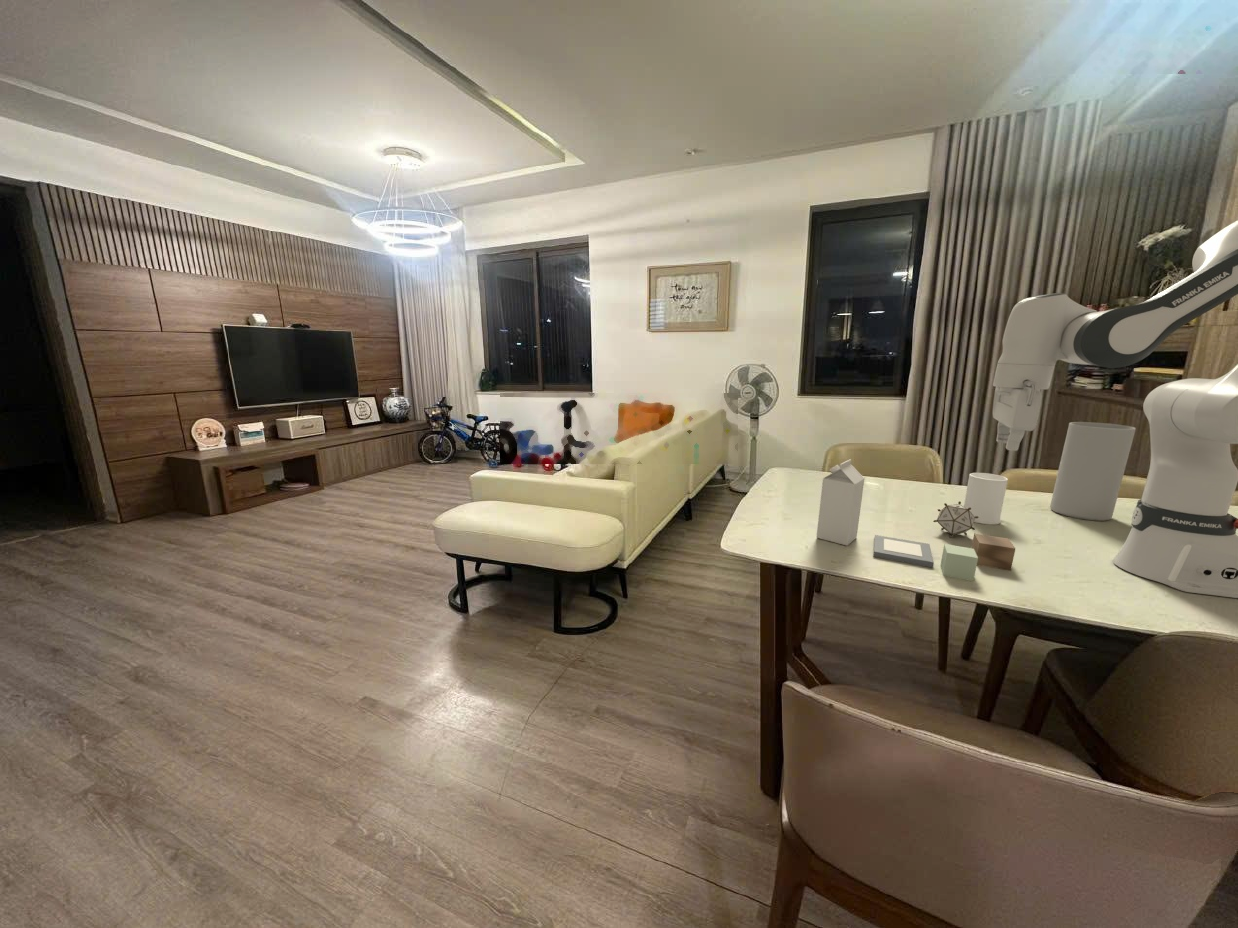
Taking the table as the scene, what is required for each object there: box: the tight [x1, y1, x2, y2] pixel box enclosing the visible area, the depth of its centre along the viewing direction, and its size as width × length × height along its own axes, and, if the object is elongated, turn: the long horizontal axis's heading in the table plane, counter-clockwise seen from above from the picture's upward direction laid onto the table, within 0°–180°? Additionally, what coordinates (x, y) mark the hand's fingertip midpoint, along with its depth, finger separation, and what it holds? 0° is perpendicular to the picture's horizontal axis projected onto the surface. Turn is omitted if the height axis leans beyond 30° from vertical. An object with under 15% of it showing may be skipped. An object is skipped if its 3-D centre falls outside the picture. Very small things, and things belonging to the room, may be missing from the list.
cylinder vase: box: [1049, 421, 1136, 522], centre depth 127 cm, size 12×12×25 cm
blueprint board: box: [872, 534, 935, 568], centre depth 104 cm, size 11×11×1 cm
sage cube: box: [940, 543, 978, 582], centre depth 94 cm, size 5×5×5 cm
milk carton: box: [816, 459, 865, 546], centre depth 110 cm, size 7×7×19 cm
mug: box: [963, 472, 1009, 526], centre depth 125 cm, size 12×8×12 cm
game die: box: [932, 501, 978, 538], centre depth 114 cm, size 9×8×10 cm
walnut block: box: [971, 533, 1016, 571], centre depth 100 cm, size 6×6×5 cm
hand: (1006, 446), depth 97 cm, fingers open, 8 cm apart
